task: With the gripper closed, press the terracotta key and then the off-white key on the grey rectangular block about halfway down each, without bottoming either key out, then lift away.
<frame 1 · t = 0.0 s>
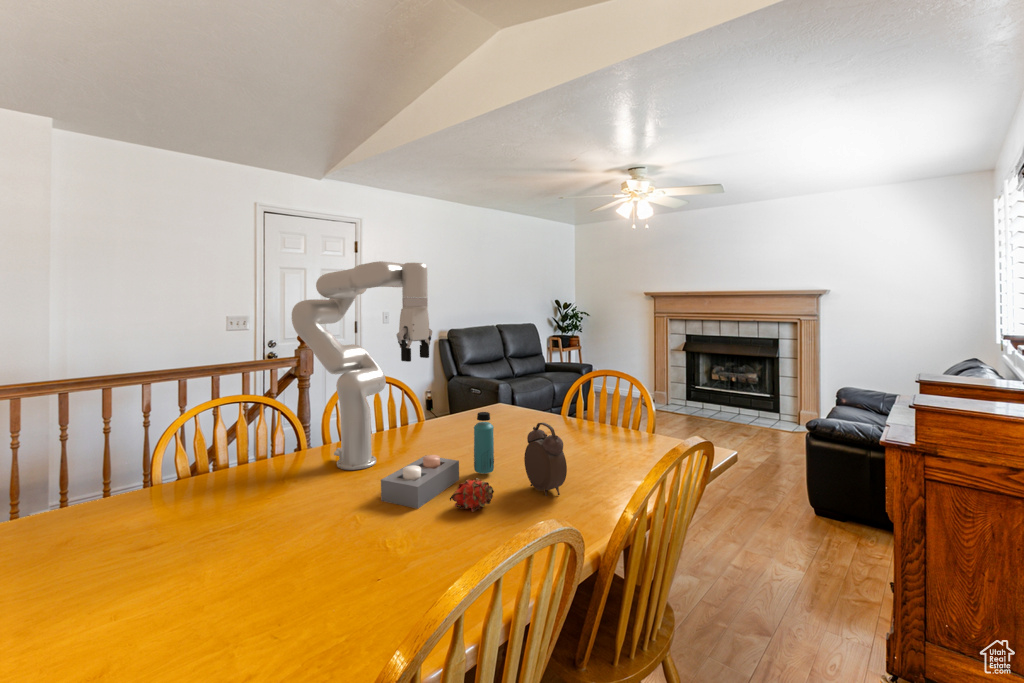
hand: (415, 359, 145), 37 cm above the table, tool pointing down, fingers open, 9 cm apart
beverage bottle: (483, 475, 149), on the table
alarm clock: (545, 491, 137), on the table
grey rectangular block: (422, 489, 137), on the table
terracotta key: (431, 464, 141), point 6 cm above the table, slide at 0.0 cm
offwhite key: (412, 475, 132), point 6 cm above the table, slide at 0.0 cm
dragon fruit: (472, 509, 125), on the table
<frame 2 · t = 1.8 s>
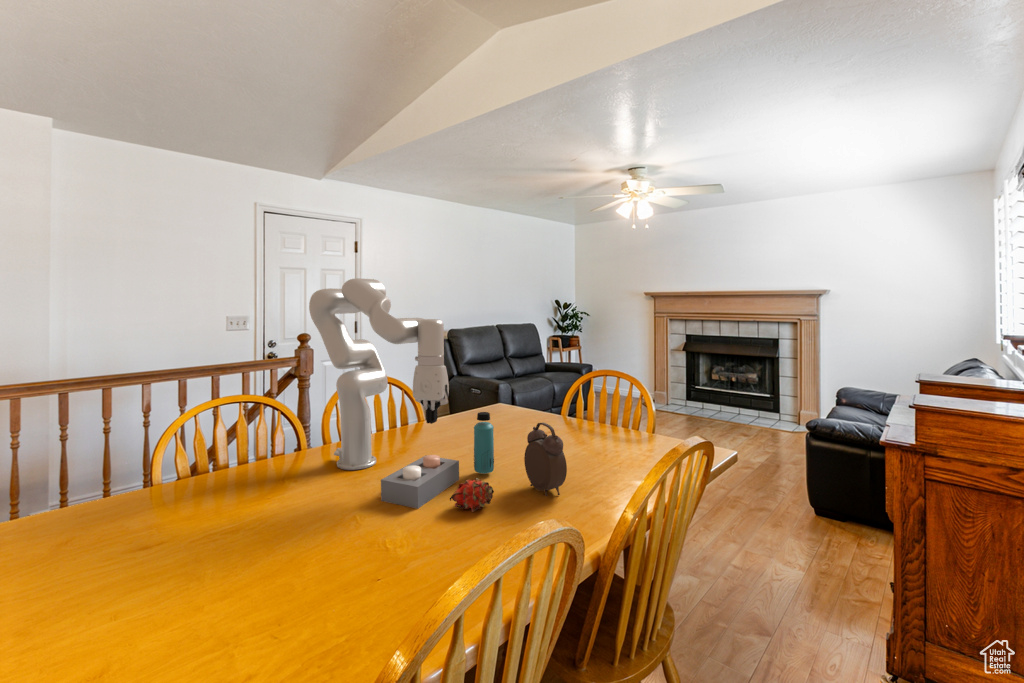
hand: (431, 422, 140), 19 cm above the table, tool pointing down, fingers closed
nothing on the table moved.
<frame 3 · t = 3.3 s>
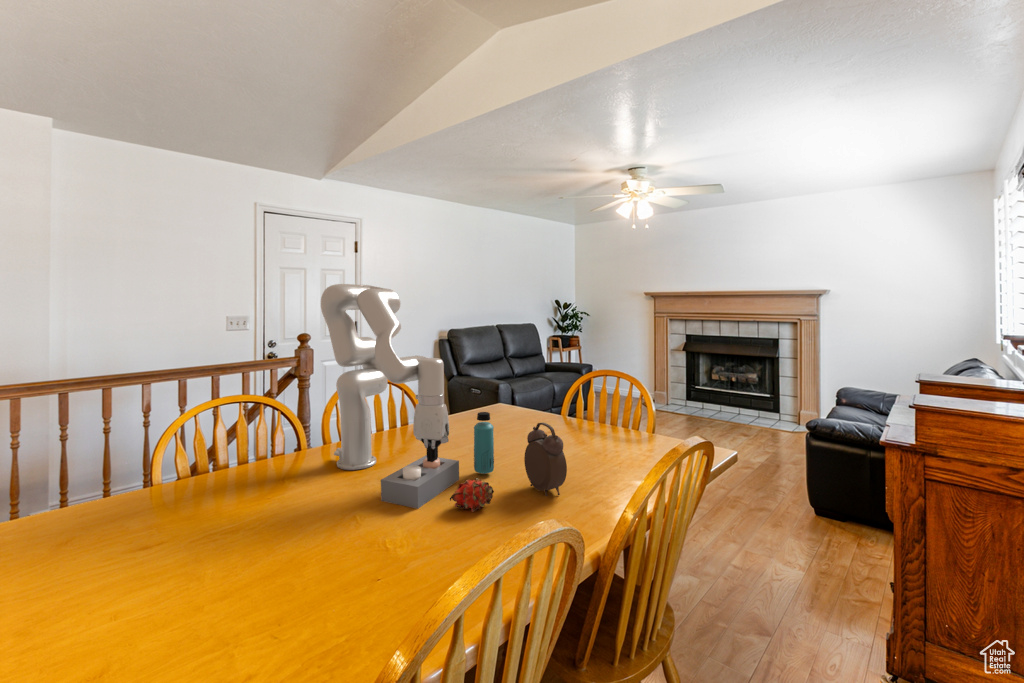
hand: (432, 460, 141), 7 cm above the table, tool pointing down, fingers closed
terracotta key: (431, 466, 141), point 5 cm above the table, slide at 0.8 cm, touching gripper
everything else where it was.
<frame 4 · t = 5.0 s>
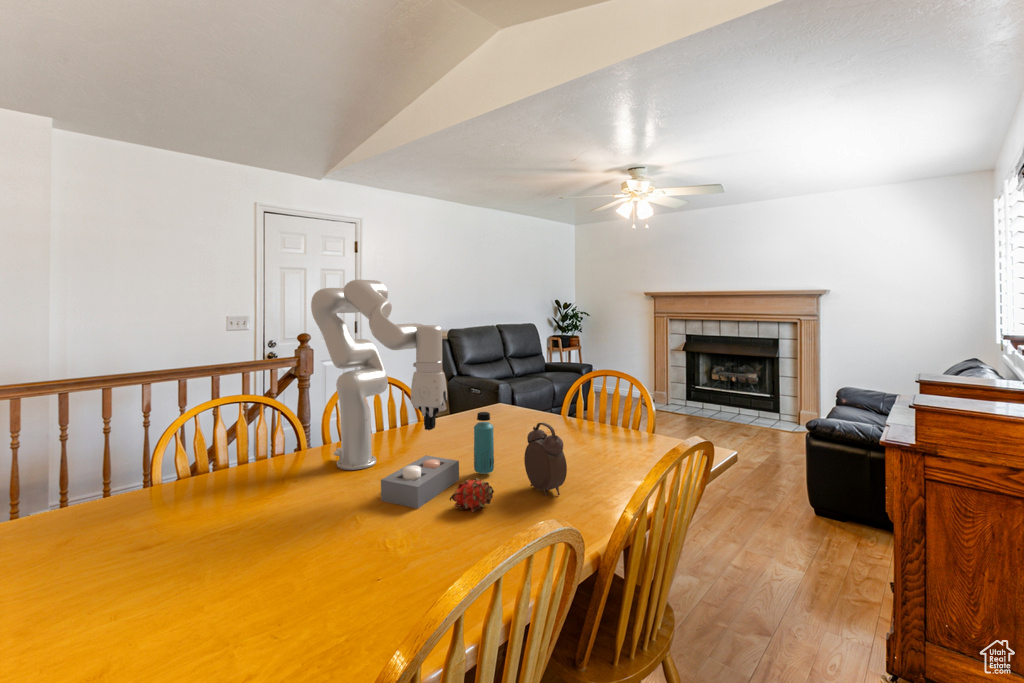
hand: (429, 428, 139), 17 cm above the table, tool pointing down, fingers closed
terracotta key: (431, 468, 141), point 5 cm above the table, slide at 1.4 cm
everything else where it was.
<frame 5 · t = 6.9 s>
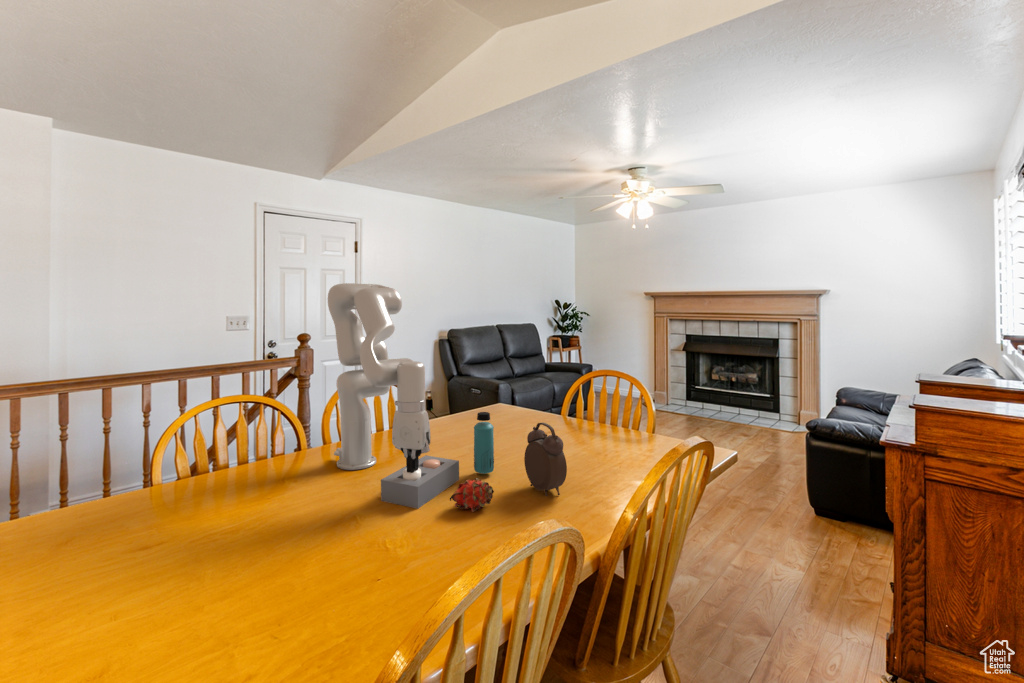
hand: (412, 470, 131), 7 cm above the table, tool pointing down, fingers closed
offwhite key: (412, 477, 132), point 5 cm above the table, slide at 0.6 cm, touching gripper
everything else where it was.
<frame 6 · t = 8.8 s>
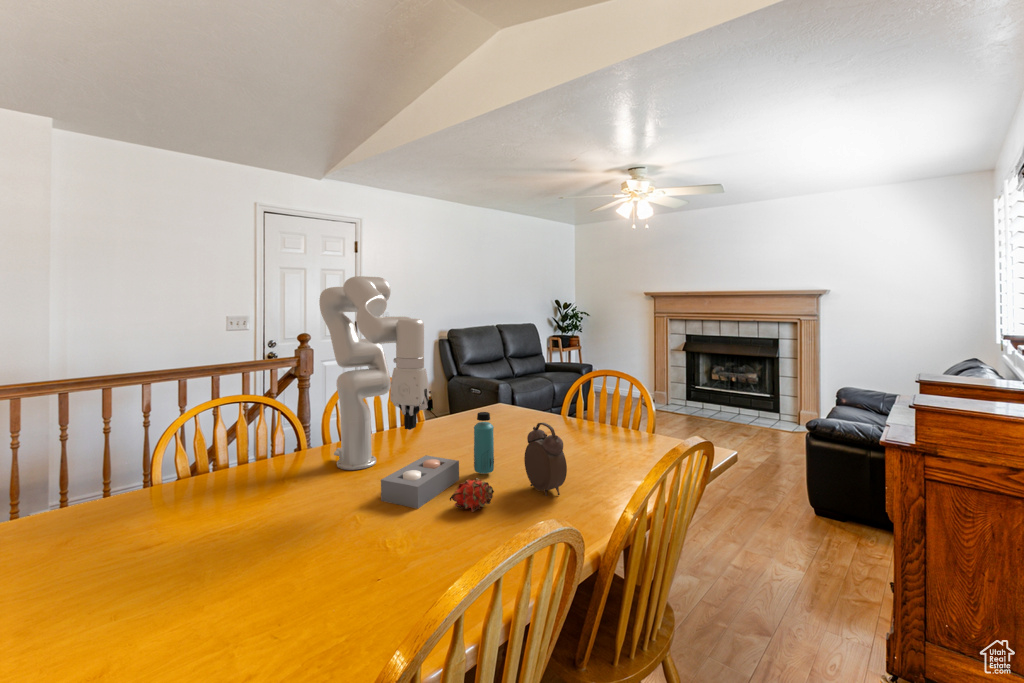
hand: (410, 428, 131), 19 cm above the table, tool pointing down, fingers closed
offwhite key: (412, 480, 132), point 5 cm above the table, slide at 1.4 cm
everything else where it was.
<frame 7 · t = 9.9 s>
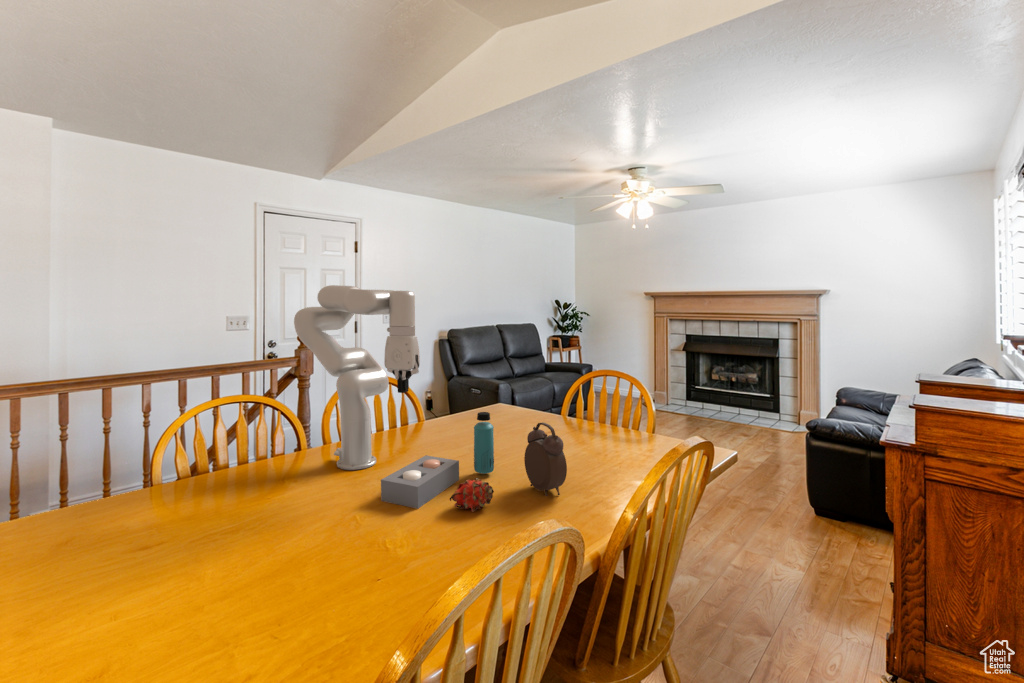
hand: (403, 391, 143), 27 cm above the table, tool pointing down, fingers closed
nothing on the table moved.
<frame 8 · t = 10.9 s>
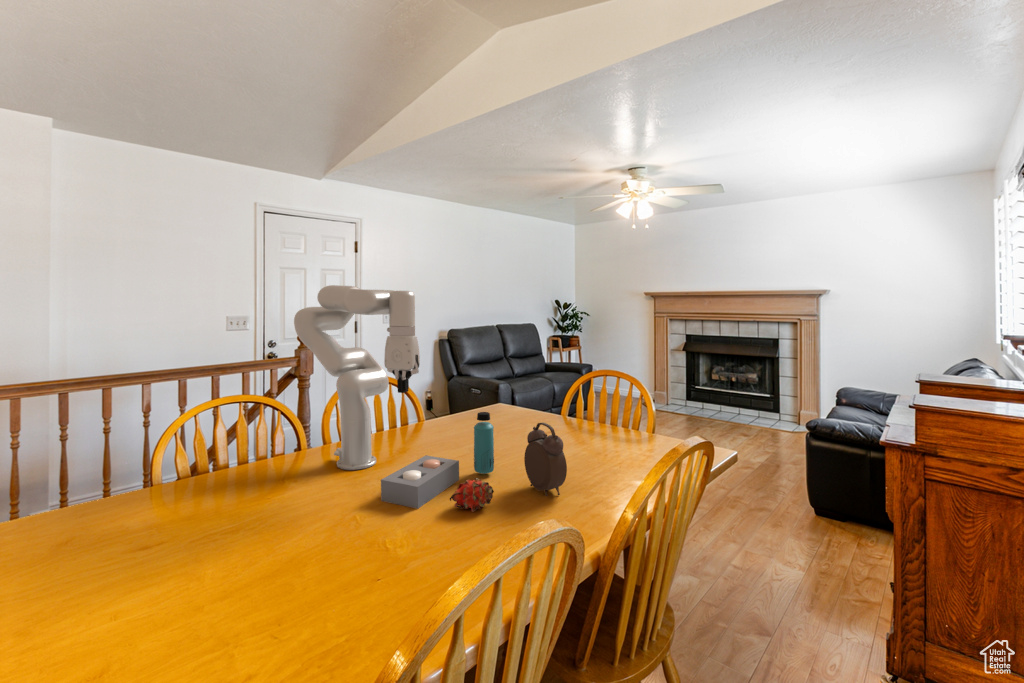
hand: (403, 391, 143), 27 cm above the table, tool pointing down, fingers closed
nothing on the table moved.
at the end: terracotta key slide at 1.4 cm; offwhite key slide at 1.4 cm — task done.
